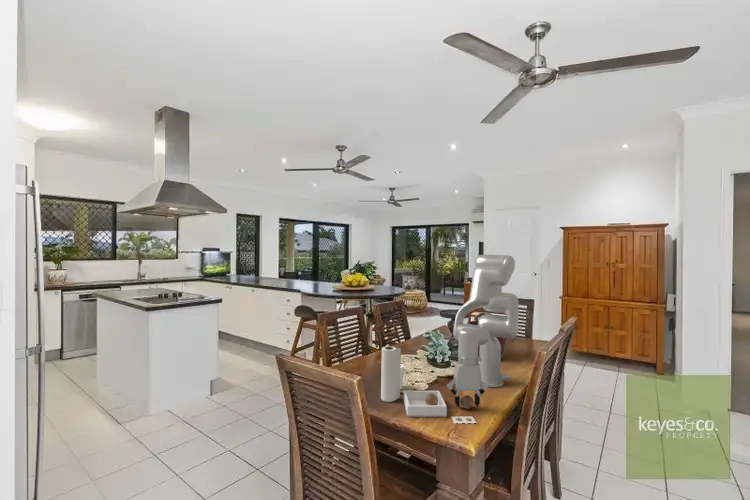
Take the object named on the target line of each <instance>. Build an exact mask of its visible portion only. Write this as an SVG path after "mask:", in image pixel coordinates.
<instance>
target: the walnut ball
mask: <svg viewBox="0 0 750 500" xmlns="http://www.w3.org/2000/svg"><path fill="white" fill-rule="evenodd" d="M474 402H475V400H474V398H473V397H472V396H470V395H466V394H465V395H463V396H462V397H461V398H460V405H461V406H462V407H463V408H464V409H465V410H470V409H472V408H473V407H474V405H475V403H474Z"/></svg>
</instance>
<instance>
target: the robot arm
mask: <svg viewBox="0 0 750 500" xmlns="http://www.w3.org/2000/svg"><path fill="white" fill-rule="evenodd" d="M474 262H475V268H474V269H473V274H472V279H471V285H470V291H469V292H470V293H469V298H468V300H467V301H465V302H464V303H463V304H462V305H461V306H460V307H459V309H458V310H457V312H456V314H455V319H454V323H453V333H452V334H453V338H454V339H455V340H456V341H457V342H458V344H457V345H458V351H457V352H458V354H457V357H458V358H457V362H456V363H455V366H454V372H453V379H452V380H451V381H450V382H449V383H447V384H446V387H447V388H448V389H449V391H451V393H452V394H453V395H454V405H456V407H457V408H459V407H460V405H461V398H460V393H461V391H474V392H475V393H474V405H475V407H477V408H479V405H480V403H481V401H480V400H481V397H482V395H483V394H484V393H485V391H486V390H487V389H489V388H501V387H503V386H505V385H504V384H505V383H504V381H505V380H508V381H510V380H511V379H512V377H511V375H507V374H506V373H501V362H502V361H501V360H502V357H501V345H500V342H499V341H498V339H497V338H496V337H502V338H506V339H512V340H513V339H515V338H516V337H517V336H518V332H519V310H520V309H519V298H518V296H517V294H514V293H512V292H511V293H510V292H503V291H502V289H503V287H505V286H507V285H508V283H509V282H510V280H511V278H512V275H513V273H514V271H515V268H516V267H515V266H516V261H515V259H514V257H513V256H511V255H509V254H508V255H507V254H505V255H504V254H479V255H478V256H476V257H475V260H474ZM480 308H483V310H484V311H486V312H488V313H497V314H504V315H506V316H503V315H502V316H501V315H494V314H492V315H486V314H484V315H482V316H481V317H478V319H479V320H478V325H471V324H467V323H465V322H464V321H465V318H466V316H467V315H468V314H469V313H471V312H472V311H474V310H476V309H477V310H478V309H480ZM479 345H480V357H478V346H479ZM453 386H454V387H455V388H453Z"/></svg>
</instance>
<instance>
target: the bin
mask: <svg viewBox="0 0 750 500" xmlns="http://www.w3.org/2000/svg"><path fill="white" fill-rule="evenodd" d="M428 394H435V395H436V396H437V398H438V404H437V405H427V404H426V402H425V398H426V396H427V395H428ZM403 403H404V408H405V412H406V416H407V418H447V417H448V416H447V412H448V411H447V410H448V409H447V408H448V407H447V404H446V402H445V400H444V398H443V395H442V394H441V392H440V390H403Z"/></svg>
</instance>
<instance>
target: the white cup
mask: <svg viewBox="0 0 750 500" xmlns="http://www.w3.org/2000/svg"><path fill="white" fill-rule="evenodd" d="M404 367H405V366H404V364H402V363H401V372H400V388H401V387H402V388H403V382H404V370H405V369H404Z"/></svg>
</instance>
